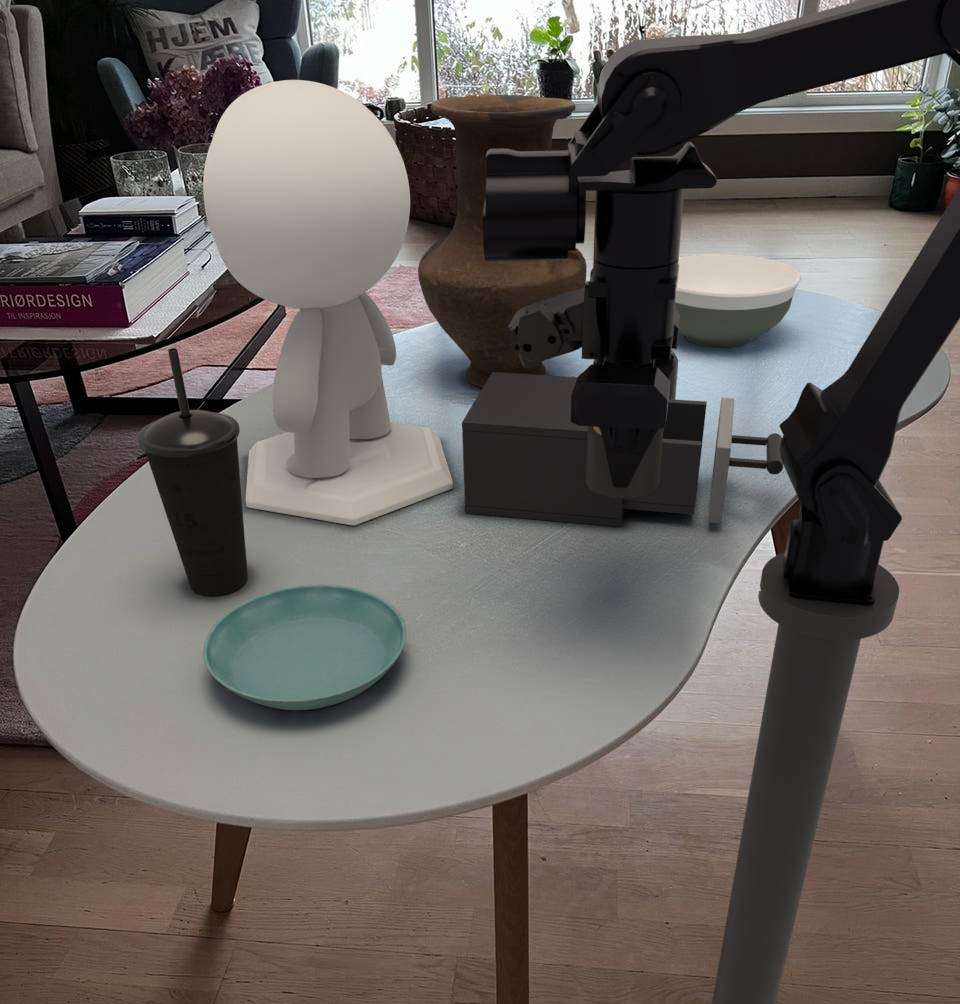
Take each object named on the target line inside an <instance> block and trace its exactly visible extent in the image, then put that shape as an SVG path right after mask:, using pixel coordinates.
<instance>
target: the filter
mask: <svg viewBox="0 0 960 1004" xmlns="http://www.w3.org/2000/svg"><path fill="white" fill-rule="evenodd" d="M663 432H664V428H661V429H658V431H657V433H656V435H655V437H654V438H653V440H652V442H651V444H650V446H649V448H648V449H647V451H646V453H645V455H644V457H643V459H642V461H641V463H640V464H639V466H638V468H637V470H636V472H635V474H634V476H633V478H632V480H631V482H630V483H629V485H628V487H627V488H616V487H614V486H613V485H612V481H611V476H610V472H609V467H608V462H607V458H606V453H605V448H604V444H603V440H602V436H601V432H600V429H599V428H598V427H593V426H588V433H587V462H586V483H587V486H588V487H589V488H590V489H591V490H593V491H594V492H596V493H598V494H601V495H604V496H608V497H614V498H635V497H641V496H644V495H647V494H650V493H652V492H653V491H655V490H656V489H657V488H658V486H659V482H660V469H661V457H662V444H663Z"/></svg>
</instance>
